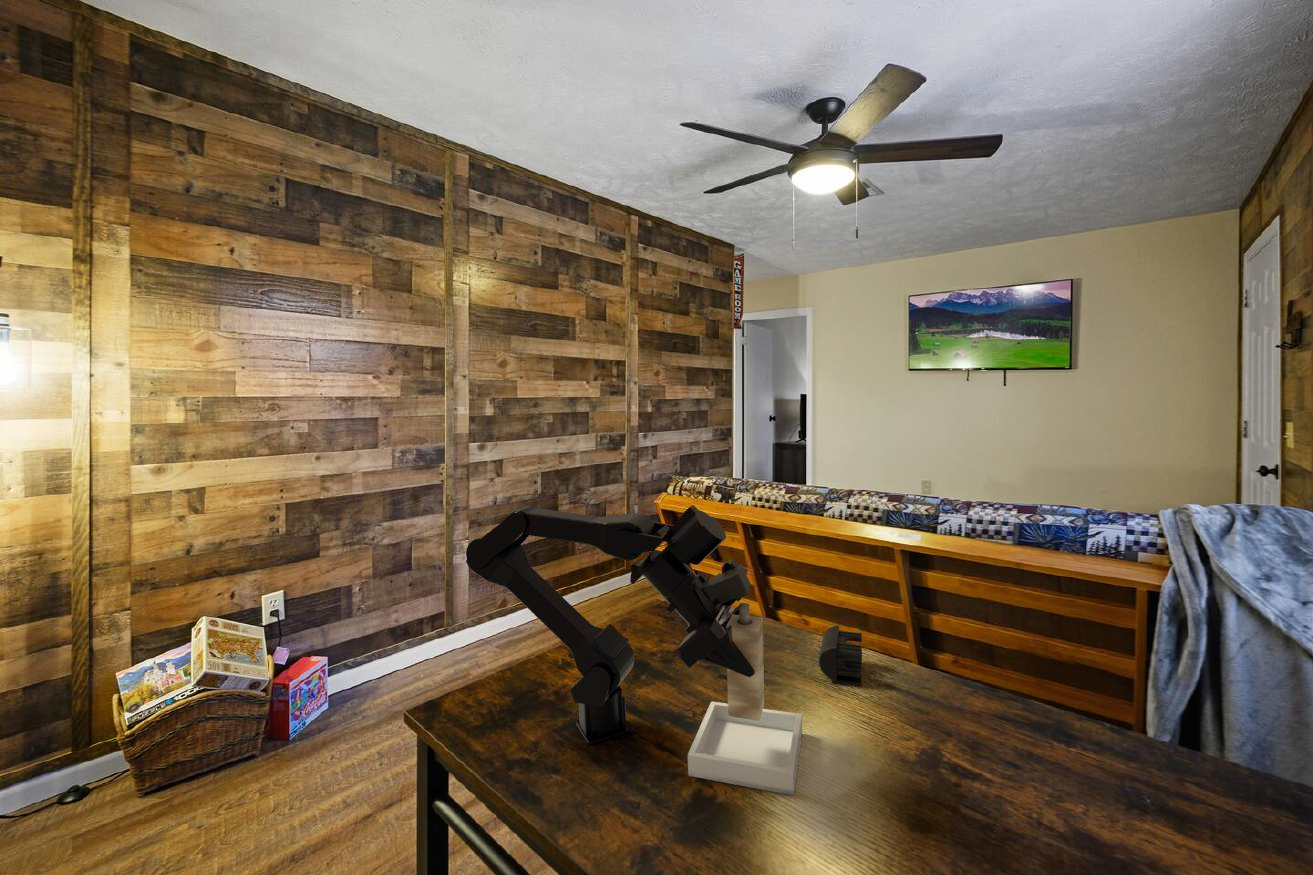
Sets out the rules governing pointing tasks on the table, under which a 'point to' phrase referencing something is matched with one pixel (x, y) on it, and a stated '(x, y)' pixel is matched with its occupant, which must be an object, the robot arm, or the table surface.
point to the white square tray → (748, 749)
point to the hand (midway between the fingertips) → (755, 666)
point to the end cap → (841, 657)
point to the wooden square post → (749, 640)
